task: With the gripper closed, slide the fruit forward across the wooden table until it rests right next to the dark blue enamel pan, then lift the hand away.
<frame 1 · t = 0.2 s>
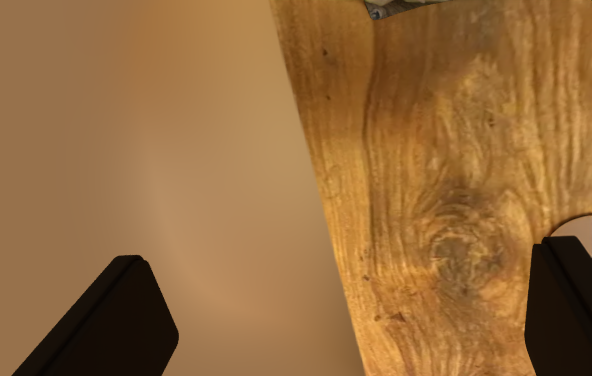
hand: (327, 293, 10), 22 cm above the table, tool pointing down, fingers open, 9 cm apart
can: (585, 245, 33), on the table
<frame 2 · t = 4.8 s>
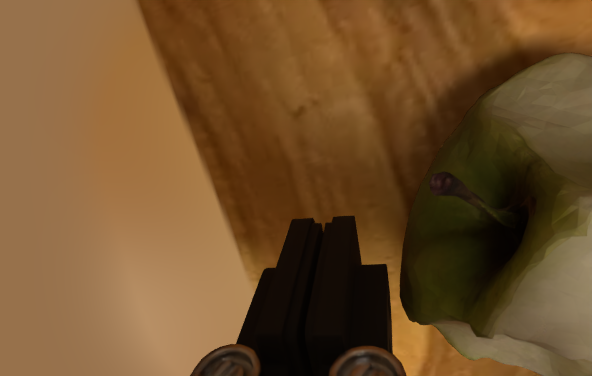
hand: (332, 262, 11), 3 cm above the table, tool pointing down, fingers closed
fruit: (552, 180, 12), on the table, touching gripper
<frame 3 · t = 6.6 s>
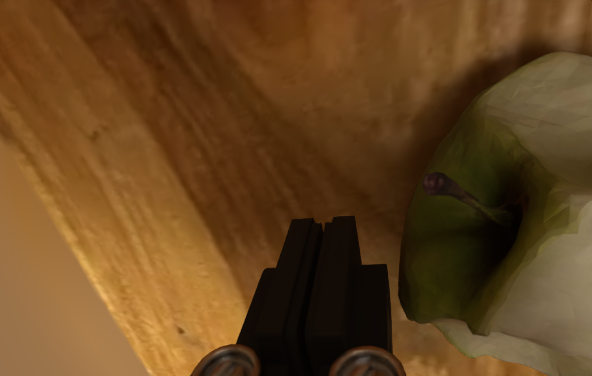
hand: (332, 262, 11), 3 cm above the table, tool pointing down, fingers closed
fruit: (549, 178, 12), on the table, touching gripper
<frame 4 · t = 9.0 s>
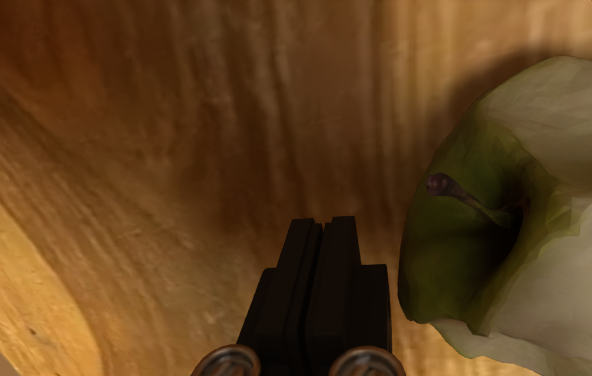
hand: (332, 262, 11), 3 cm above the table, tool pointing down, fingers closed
fruit: (548, 181, 13), on the table, touching gripper
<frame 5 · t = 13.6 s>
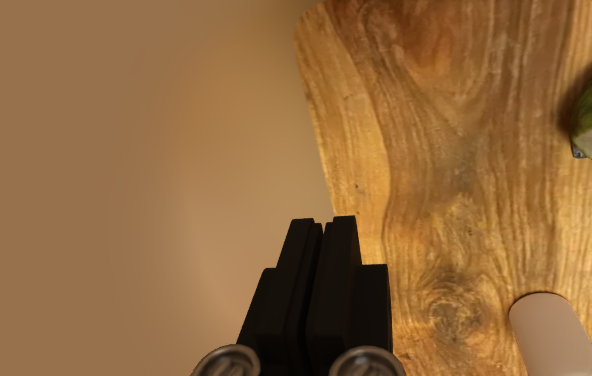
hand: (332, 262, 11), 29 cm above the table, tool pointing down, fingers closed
can: (538, 310, 47), on the table
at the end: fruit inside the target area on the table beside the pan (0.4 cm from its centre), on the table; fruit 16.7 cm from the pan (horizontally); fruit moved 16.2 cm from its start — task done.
